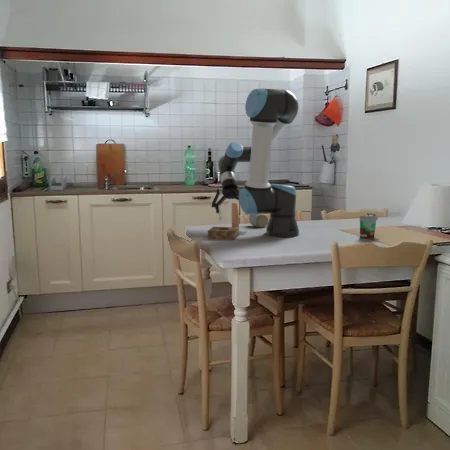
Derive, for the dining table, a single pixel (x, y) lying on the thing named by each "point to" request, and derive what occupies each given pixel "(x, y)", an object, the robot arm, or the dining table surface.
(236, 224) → the dowel
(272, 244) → the dining table surface
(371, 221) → the food container
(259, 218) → the grey beige can
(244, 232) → the mat
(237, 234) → the socket block
